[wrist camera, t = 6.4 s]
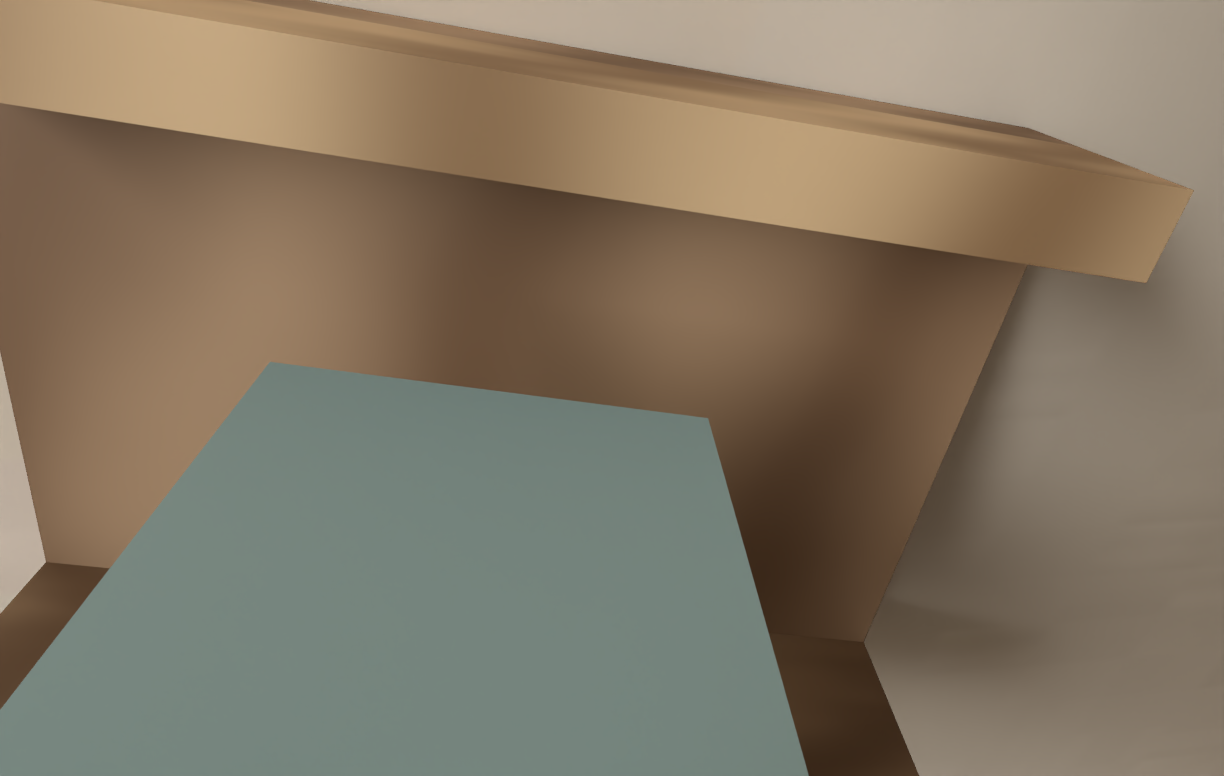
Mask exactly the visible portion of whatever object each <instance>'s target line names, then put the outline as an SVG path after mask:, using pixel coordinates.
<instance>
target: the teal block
mask: <svg viewBox="0 0 1224 776" xmlns="http://www.w3.org/2000/svg"><path fill="white" fill-rule="evenodd" d="M0 776H809V775H808V771H807V768H806V764H805V760H804V757H803V753H802V750H801V746H800V743H799V739H798V736H797V732H796V729H795V725H794V721H793V718H792V714H791V711H790V707H789V704H788V700H787V697H786V693H785V689H784V686H783V682H782V679H781V675H780V672H779V668H778V665H777V661H776V658H775V654H774V650H773V647H772V643H771V640H770V636H769V633H768V629H767V626H766V622H765V618H764V615H763V611H762V608H761V604H760V601H759V597H758V594H757V590H756V587H755V583H754V579H753V576H752V572H751V569H750V565H749V562H748V558H747V555H746V551H745V548H744V544H743V540H742V537H741V533H740V530H739V526H738V523H737V519H736V516H735V512H734V508H733V505H732V501H731V498H730V494H729V491H728V487H727V484H726V480H725V477H724V473H723V469H722V466H721V462H720V459H719V455H718V452H717V448H716V445H715V441H714V437H713V434H712V430H711V427H710V423H709V420H708V418H703V417H695V416H687V415H680V414H672V413H664V412H656V411H649V410H641V409H633V408H625V407H617V406H610V405H602V404H594V403H586V402H579V401H571V400H563V399H555V398H547V397H540V396H532V395H524V394H516V393H509V392H501V391H493V390H485V389H477V388H470V387H462V386H454V385H446V384H439V383H431V382H423V381H415V380H408V379H400V378H392V377H384V376H376V375H369V374H361V373H353V372H345V371H338V370H330V369H322V368H314V367H306V366H299V365H291V364H283V363H275V362H269V364H268V365H267V366H266V367H265V369H264V370H263V371H262V373H261V374H260V375H259V376H258V378H257V379H256V380H255V382H254V383H253V384H252V386H251V387H250V388H249V389H248V391H247V392H246V393H245V395H244V396H243V397H242V398H241V400H240V401H239V402H238V404H237V405H236V406H235V407H234V409H233V410H232V411H231V413H230V414H229V415H228V417H227V418H226V419H225V420H224V422H223V423H222V424H221V426H220V427H219V428H218V429H217V431H216V432H215V433H214V435H213V436H212V437H211V438H210V440H209V441H208V442H207V444H206V445H205V446H204V447H203V449H202V450H201V451H200V453H199V454H198V455H197V457H196V458H195V459H194V460H193V462H192V463H191V464H190V466H189V467H188V468H187V469H186V471H185V472H184V473H183V475H182V476H181V477H180V478H179V480H178V481H177V482H176V484H175V485H174V486H173V487H172V489H171V490H170V491H169V493H168V494H167V495H166V497H165V498H164V499H163V500H162V502H161V503H160V504H159V506H158V507H157V508H156V509H155V511H154V512H153V513H152V515H151V516H150V517H149V518H148V520H147V521H146V522H145V524H144V525H143V526H142V527H141V529H140V530H139V531H138V533H137V534H136V535H135V537H134V538H133V539H132V540H131V542H130V543H129V544H128V546H127V547H126V548H125V549H124V551H123V552H122V553H121V555H120V556H119V557H118V558H117V560H116V561H115V562H114V564H113V565H112V566H111V567H110V569H109V570H108V571H107V573H106V574H105V575H104V577H103V578H102V579H101V580H100V582H99V583H98V584H97V586H96V587H95V588H94V589H93V591H92V592H91V593H90V595H89V596H88V597H87V598H86V600H85V601H84V602H83V604H82V605H81V606H80V607H79V609H78V610H77V611H76V613H75V614H74V615H73V617H72V618H71V619H70V620H69V622H68V623H67V624H66V626H65V627H64V628H63V629H62V631H61V632H60V633H59V635H58V636H57V637H56V638H55V640H54V641H53V642H52V644H51V645H50V646H49V647H48V649H47V650H46V651H45V653H44V654H43V655H42V657H41V658H40V659H39V660H38V662H37V663H36V664H35V666H34V667H33V668H32V669H31V671H30V672H29V673H28V675H27V676H26V677H25V678H24V680H23V681H22V682H21V684H20V685H19V686H18V687H17V689H16V690H15V691H14V693H13V694H12V695H11V697H10V698H9V699H8V700H7V702H6V703H5V704H4V706H3V707H2V708H1V709H0Z"/></svg>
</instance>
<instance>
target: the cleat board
mask: <svg viewBox="0 0 1224 776" xmlns="http://www.w3.org/2000/svg"><path fill="white" fill-rule="evenodd" d="M1193 191H1194V190H1192V189H1189V188H1186V187H1184V186H1181V185H1178V184H1176V183H1173V182H1170V181H1168V180H1165V179H1162V178H1160V177H1157V176H1154V175H1152V174H1149V173H1146V172H1144V171H1141V170H1138V169H1136V168H1133V167H1130V166H1128V165H1125V164H1122V163H1120V162H1117V161H1114V160H1112V159H1109V158H1106V157H1104V156H1101V155H1098V154H1096V153H1093V152H1090V151H1088V150H1085V149H1082V148H1080V147H1077V146H1074V145H1072V144H1069V143H1067V142H1064V141H1061V140H1059V139H1056V138H1053V137H1051V136H1048V135H1045V134H1043V133H1040V132H1037V131H1035V130H1032V129H1029V128H1025V127H1019V126H1013V125H1008V124H1002V123H997V122H991V121H985V120H980V119H974V118H968V117H963V116H957V115H952V114H946V113H940V112H935V111H929V110H923V109H918V108H912V107H907V106H901V105H895V104H890V103H884V102H878V101H873V100H867V99H861V98H856V97H850V96H845V95H839V94H833V93H828V92H822V91H816V90H811V89H805V88H800V87H794V86H788V85H783V84H777V83H771V82H766V81H760V80H755V79H749V78H743V77H738V76H732V75H726V74H721V73H715V72H710V71H704V70H698V69H693V68H687V67H681V66H676V65H670V64H665V63H659V62H653V61H648V60H642V59H636V58H631V57H625V56H620V55H614V54H608V53H603V52H597V51H591V50H586V49H580V48H575V47H569V46H563V45H558V44H552V43H546V42H541V41H535V40H530V39H524V38H518V37H513V36H507V35H501V34H496V33H490V32H485V31H479V30H473V29H468V28H462V27H456V26H451V25H445V24H440V23H434V22H428V21H423V20H417V19H411V18H406V17H400V16H395V15H389V14H383V13H378V12H372V11H366V10H361V9H355V8H350V7H344V6H338V5H333V4H327V3H321V2H316V1H310V0H0V353H1V357H2V362H3V366H4V371H5V376H6V380H7V385H8V389H9V394H10V398H11V403H12V408H13V412H14V417H15V421H16V426H17V431H18V435H19V440H20V444H21V449H22V453H23V458H24V463H25V467H26V472H27V476H28V481H29V485H30V490H31V495H32V499H33V504H34V508H35V513H36V518H37V522H38V527H39V531H40V536H41V540H42V545H43V550H44V554H45V559H46V563H45V564H44V565H43V566H42V567H41V569H40V570H39V571H38V572H37V573H36V574H35V575H34V576H33V578H32V579H31V580H30V581H29V582H28V583H27V584H26V586H25V587H24V588H23V589H22V590H21V591H20V592H19V593H18V595H17V596H16V597H15V598H14V599H13V600H12V601H11V602H10V604H9V605H8V606H7V607H6V608H5V609H4V610H3V612H2V613H1V614H0V709H1V708H2V707H3V706H4V704H5V703H6V702H7V700H8V699H9V698H10V697H11V695H12V694H13V693H14V691H15V690H16V689H17V687H18V686H19V685H20V684H21V682H22V681H23V680H24V678H25V677H26V676H27V675H28V673H29V672H30V671H31V669H32V668H33V667H34V666H35V664H36V663H37V662H38V660H39V659H40V658H41V657H42V655H43V654H44V653H45V651H46V650H47V649H48V647H49V646H50V645H51V644H52V642H53V641H54V640H55V638H56V637H57V636H58V635H59V633H60V632H61V631H62V629H63V628H64V627H65V626H66V624H67V623H68V622H69V620H70V619H71V618H72V617H73V615H74V614H75V613H76V611H77V610H78V609H79V607H80V606H81V605H82V604H83V602H84V601H85V600H86V598H87V597H88V596H89V595H90V593H91V592H92V591H93V589H94V588H95V587H96V586H97V584H98V583H99V582H100V580H101V579H102V578H103V577H104V575H105V574H106V573H107V571H108V570H109V569H110V567H111V566H112V565H113V564H114V562H115V561H116V560H117V558H118V557H119V556H120V555H121V553H122V552H123V551H124V549H125V548H126V547H127V546H128V544H129V543H130V542H131V540H132V539H133V538H134V537H135V535H136V534H137V533H138V531H139V530H140V529H141V527H142V526H143V525H144V524H145V522H146V521H147V520H148V518H149V517H150V516H151V515H152V513H153V512H154V511H155V509H156V508H157V507H158V506H159V504H160V503H161V502H162V500H163V499H164V498H165V497H166V495H167V494H168V493H169V491H170V490H171V489H172V487H173V486H174V485H175V484H176V482H177V481H178V480H179V478H180V477H181V476H182V475H183V473H184V472H185V471H186V469H187V468H188V467H189V466H190V464H191V463H192V462H193V460H194V459H195V458H196V457H197V455H198V454H199V453H200V451H201V450H202V449H203V447H204V446H205V445H206V444H207V442H208V441H209V440H210V438H211V437H212V436H213V435H214V433H215V432H216V431H217V429H218V428H219V427H220V426H221V424H222V423H223V422H224V420H225V419H226V418H227V417H228V415H229V414H230V413H231V411H232V410H233V409H234V407H235V406H236V405H237V404H238V402H239V401H240V400H241V398H242V397H243V396H244V395H245V393H246V392H247V391H248V389H249V388H250V387H251V386H252V384H253V383H254V382H255V380H256V379H257V378H258V376H259V375H260V374H261V373H262V371H263V370H264V369H265V367H266V366H267V365H268V364H269V362H275V363H283V364H291V365H299V366H306V367H314V368H322V369H330V370H338V371H345V372H353V373H361V374H369V375H376V376H384V377H392V378H400V379H408V380H415V381H423V382H431V383H439V384H446V385H454V386H462V387H470V388H477V389H485V390H493V391H501V392H509V393H516V394H524V395H532V396H540V397H547V398H555V399H563V400H571V401H579V402H586V403H594V404H602V405H610V406H617V407H625V408H633V409H641V410H649V411H656V412H664V413H672V414H680V415H687V416H695V417H703V418H708V420H709V423H710V427H711V430H712V434H713V437H714V441H715V445H716V448H717V452H718V455H719V459H720V462H721V466H722V469H723V473H724V477H725V480H726V484H727V487H728V491H729V494H730V498H731V501H732V505H733V508H734V512H735V516H736V519H737V523H738V526H739V530H740V533H741V537H742V540H743V544H744V548H745V551H746V555H747V558H748V562H749V565H750V569H751V572H752V576H753V579H754V583H755V587H756V590H757V594H758V597H759V601H760V604H761V608H762V611H763V615H764V618H765V622H766V626H767V629H768V633H769V636H770V640H771V643H772V647H773V650H774V654H775V658H776V661H777V665H778V668H779V672H780V675H781V679H782V682H783V686H784V689H785V693H786V697H787V700H788V704H789V707H790V711H791V714H792V718H793V721H794V725H795V729H796V732H797V736H798V739H799V743H800V746H801V750H802V753H803V757H804V760H805V764H806V768H807V771H808V775H809V776H919V775H918V772H917V770H916V767H915V765H914V763H913V760H912V758H911V755H910V753H909V750H908V748H907V746H906V743H905V741H904V738H903V736H902V734H901V731H900V729H899V726H898V724H897V722H896V719H895V717H894V714H893V712H892V710H891V707H890V705H889V702H888V700H887V698H886V695H885V693H884V690H883V688H882V686H881V683H880V681H879V678H878V676H877V674H876V671H875V669H874V666H873V664H872V662H871V659H870V657H869V654H868V652H867V650H866V647H865V645H864V640H865V637H866V635H867V633H868V630H869V628H870V626H871V623H872V621H873V619H874V617H875V614H876V612H877V610H878V607H879V605H880V603H881V600H882V598H883V596H884V594H885V591H886V589H887V587H888V584H889V582H890V580H891V578H892V575H893V573H894V571H895V568H896V566H897V564H898V561H899V559H900V557H901V555H902V552H903V550H904V548H905V545H906V543H907V541H908V538H909V536H910V534H911V532H912V529H913V527H914V525H915V522H916V520H917V518H918V515H919V513H920V511H921V509H922V506H923V504H924V502H925V499H926V497H927V495H928V493H929V490H930V488H931V486H932V483H933V481H934V479H935V476H936V474H937V472H938V470H939V467H940V465H941V463H942V460H943V458H944V456H945V453H946V451H947V449H948V447H949V444H950V442H951V440H952V437H953V435H954V433H955V430H956V428H957V426H958V424H959V421H960V419H961V417H962V414H963V412H964V410H965V408H966V405H967V403H968V401H969V398H970V396H971V394H972V391H973V389H974V387H975V385H976V382H977V380H978V378H979V375H980V373H981V371H982V368H983V366H984V364H985V362H986V359H987V357H988V355H989V352H990V350H991V348H992V345H993V343H994V341H995V339H996V336H997V334H998V332H999V329H1000V327H1001V325H1002V323H1003V320H1004V318H1005V316H1006V313H1007V311H1008V309H1009V306H1010V304H1011V302H1012V300H1013V297H1014V295H1015V293H1016V290H1017V288H1018V286H1019V283H1020V281H1021V279H1022V277H1023V274H1024V272H1025V270H1026V267H1027V265H1034V266H1041V267H1047V268H1053V269H1060V270H1066V271H1073V272H1079V273H1085V274H1092V275H1098V276H1104V277H1111V278H1117V279H1123V280H1130V281H1136V282H1143V283H1146V282H1147V281H1148V279H1149V277H1150V275H1151V273H1152V271H1153V269H1154V267H1155V265H1156V263H1157V261H1158V259H1159V257H1160V255H1161V253H1162V251H1163V249H1164V248H1165V246H1166V244H1167V242H1168V240H1169V238H1170V236H1171V234H1172V232H1173V230H1174V228H1175V226H1176V224H1177V222H1178V220H1179V218H1180V216H1181V215H1182V213H1183V211H1184V209H1185V207H1186V205H1187V203H1188V201H1189V199H1190V197H1191V195H1192V193H1193Z"/></svg>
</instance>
